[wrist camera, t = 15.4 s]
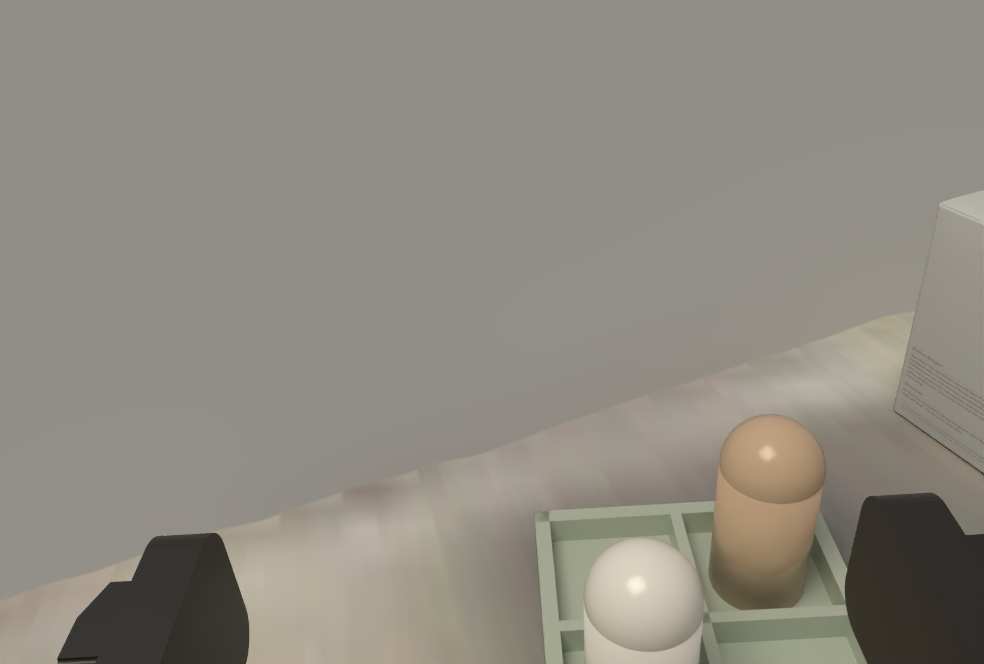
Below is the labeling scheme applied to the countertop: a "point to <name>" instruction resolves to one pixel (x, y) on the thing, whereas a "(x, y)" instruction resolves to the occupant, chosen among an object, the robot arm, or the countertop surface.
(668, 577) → the white dome-topped cylinder
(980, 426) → the supplement box
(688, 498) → the countertop surface
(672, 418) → the countertop surface
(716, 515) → the tan dome-topped cylinder
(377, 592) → the countertop surface
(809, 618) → the green rectangular open tray
